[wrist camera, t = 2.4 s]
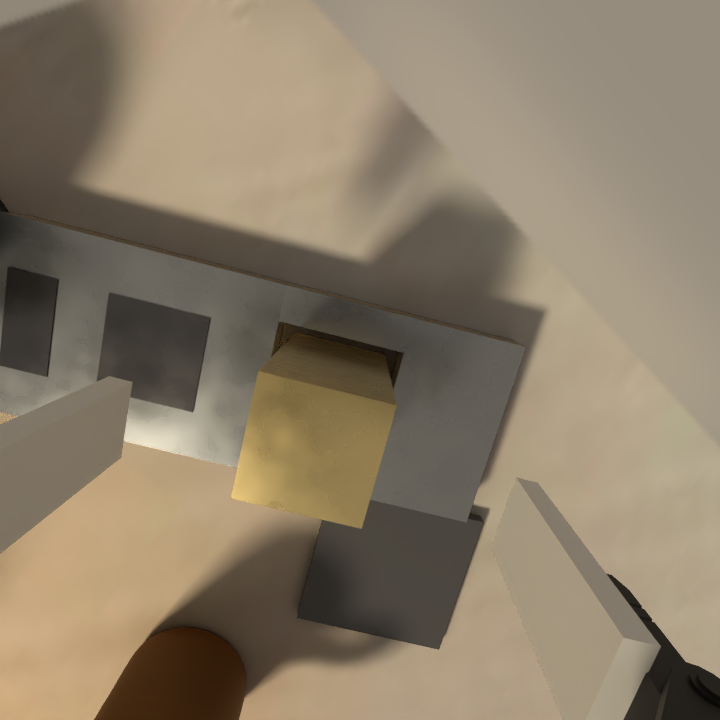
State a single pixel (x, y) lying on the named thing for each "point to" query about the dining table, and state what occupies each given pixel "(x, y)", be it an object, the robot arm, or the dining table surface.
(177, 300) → the grey board with slots
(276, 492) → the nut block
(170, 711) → the mug
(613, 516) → the dining table surface
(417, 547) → the rubber mat
